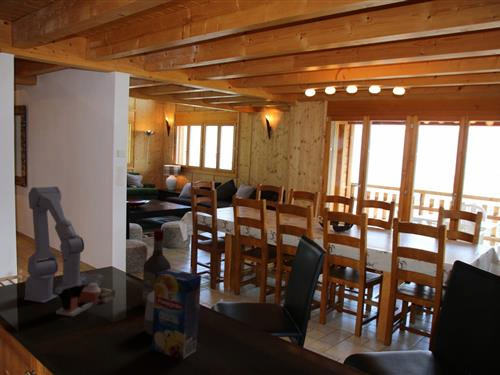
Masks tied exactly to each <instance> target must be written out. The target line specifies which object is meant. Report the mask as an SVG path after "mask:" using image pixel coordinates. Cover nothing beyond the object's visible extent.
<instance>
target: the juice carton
mask: <svg viewBox="0 0 500 375" xmlns="http://www.w3.org/2000/svg"><path fill="white" fill-rule="evenodd" d="M201 284H202V275H200V274H195V273H191V272H187V271H182V270H180V269H179V270H178V269H175V268H171V269H168V270H165V271H162V272H159V273H156V274H155V292H154V314H153V335H152V336H151V337H152V339H151V350H154V351H156V352H159V353H160V354H161V353H162V354H164V355H166V356H167V355H168V356H170V357H173V358H176V359H179V360H181V361H183V360H185V359H186V358H188V357H189V356H191V355H192V354H194V353H195V352H197V351H198V340H199V339H198V338H199V336H198V335H199V320H200V319H199V316H200V302H201V301H200V300H201Z"/></svg>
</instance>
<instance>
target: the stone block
mask: <svg viewBox="0 0 500 375" xmlns="http://www.w3.org/2000/svg"><path fill="white" fill-rule="evenodd" d="M80 277H86V282H85V283H82V285H84V288H85V287H87V286H88V285H89V284H90V283H96V284H97V285H98V287H100V286H101V285H102V284H103V283H104V280H105V277H104V275H103V274H100V273H92V274H87V273H85V272H82V273H80Z"/></svg>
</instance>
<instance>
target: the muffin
mask: <svg viewBox="0 0 500 375" xmlns="http://www.w3.org/2000/svg"><path fill="white" fill-rule="evenodd" d="M100 288H101V287H100V286H98V285H97V284H96V283H90V284H89V285H88V287H87V289H85V290H86V291H92V292H98V294H97V299H98V298H99V297H100V296H99V295H100V292H101V290H100Z"/></svg>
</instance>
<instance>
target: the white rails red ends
mask: <svg viewBox="0 0 500 375" xmlns="http://www.w3.org/2000/svg"><path fill="white" fill-rule="evenodd" d="M97 294H98V292H92V291H86V290H82V292H81V294H80V297H79V300H78V297H75V296H72V297H71V303H70V308H69V309H63V307H61V308H59V309H57V310H56V311H55V313H56V314H57V315H60V316H61V315H62V316H66V317H76V315H78V314H81V313H83V311H85V310H87V309H89V308H91V307H92V306H96V305H98V298H97ZM78 303H79V304H84V305H82V306H81V307H79V306H78V305H79V304H78Z"/></svg>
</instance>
